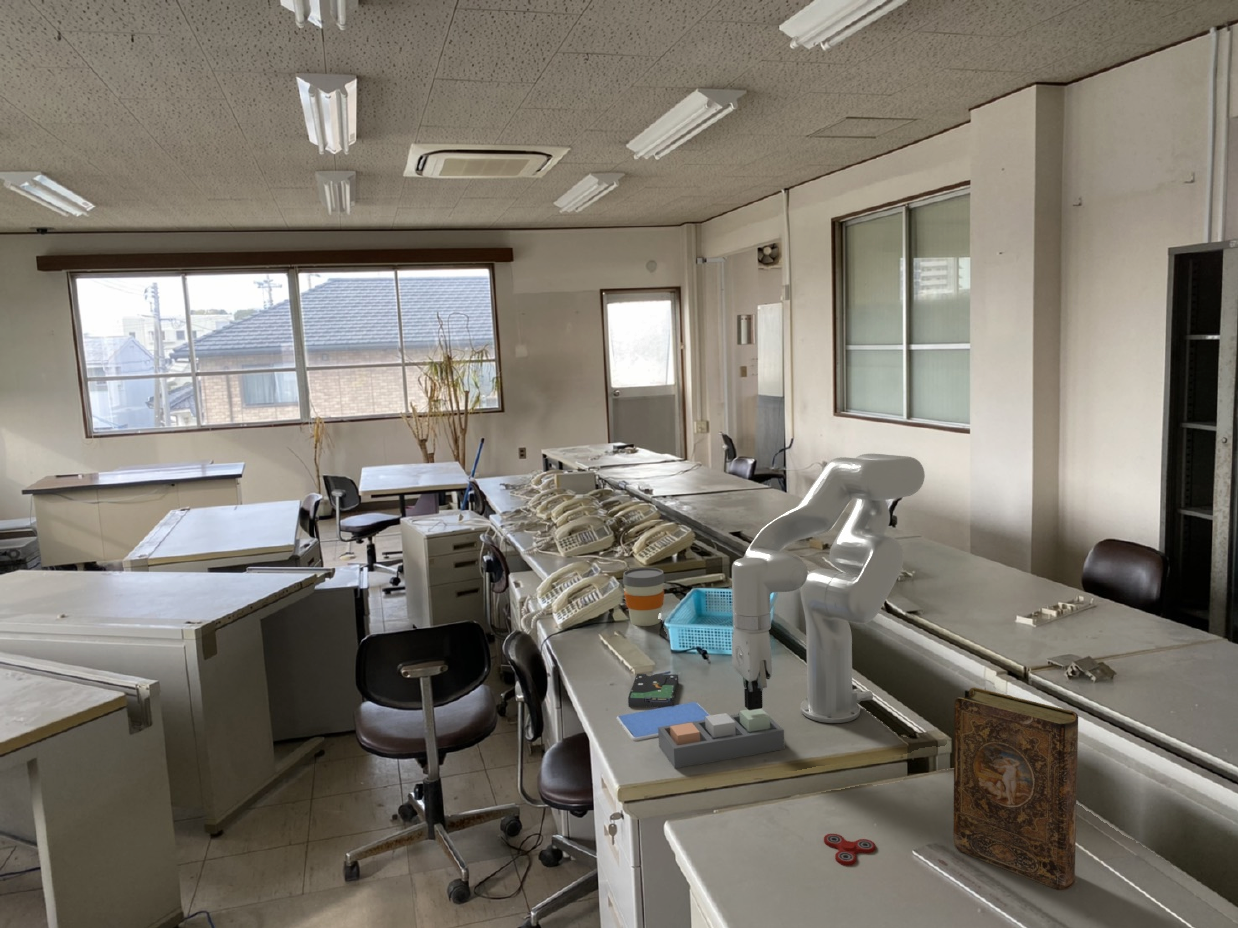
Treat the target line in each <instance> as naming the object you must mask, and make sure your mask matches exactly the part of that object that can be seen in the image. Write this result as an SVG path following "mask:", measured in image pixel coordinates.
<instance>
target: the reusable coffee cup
mask: <svg viewBox="0 0 1238 928" xmlns="http://www.w3.org/2000/svg"><path fill="white" fill-rule="evenodd" d="M665 582H666V581H665V575H664V570H663V569H660V568H658V567H657V568H656V567H637V568H635V567H634V568H631V569H628V570H625V571H624V572H623V576H622V584H623V586H624V593H623V594H624V599H625V603H626V608H627V609H628V614H629V619H630V620H629V621H630V623H631V625H634V626H638V627H639V626H640V627H648V626H655V625H657V624H659V623H660V622H661V619H658V614H659V613H661V614H662V607H663V605H664V597H665V589H664V583H665Z"/></svg>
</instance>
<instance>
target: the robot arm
mask: <svg viewBox="0 0 1238 928" xmlns="http://www.w3.org/2000/svg"><path fill="white" fill-rule="evenodd" d="M925 477H926V476H925V469H924V465H922V463H921V462H920V461H919V460H918V458H917V459H916V458H914V457H912V456H907V455H894V454H882V453H864V454H859V455H857V456H856V457H845V456H844V457H842V456H841V457H836V458H833V459H831V460H830V461H828V462H827V464H826V465H824V467H823V469H822V470H821V472H820V473H819V475H818V476H817V477H816V479H815V480H814V481H813V484H812V485H811V486H810V488H809V489H808V491H807V492H806V493H805V495H804V496H803V498H802V499H801V500H800V502H799V503H798V504H797V505H796V506H795V507H794V508H792V509H790V510H788V511H787V512H784V514H782V515H780V516H778V517H777V518H775V519H774V520H772V521H771V522H769V523H768V524H767V525H765V526H764V527H763V528H762V529H761V530H760V531H759V532H758V533H757V535H756V536H755V537H754V539H753V540H752V542H751V543H750V545H749V546H748V547H747V549H746V551H745V553H744V555H743V557H741V558H738V559H735V561H734V560H733V563H732V564H731V594H732V595H731V597H732V640H731V666H732V669H734V671H735V672H736V673H738V674H739V675H740V676H741V677H742V683H743V689H744V690H743V691H744V707H745V708H746V710H755V709H763V706H764V705H763V691H764V689H766V688H768V684H767V682H768V681H767V680H770V679H771V678H772V676H773V675H772V674H773V672H772V671H773V663H772V662H773V659H772V658H773V657H772V648H771V647H772V646H771V637H770V631H769V630H771V627H772V612H771V594H772V593H773V594H775V593H776V594H777V593H791V592H794V591H797V590H799V589H800V599H801V604H802V609H803V612H804V618H805V630H806V631H805V633H806V635H805V636H806V638H805V639H806V684H807V685H806V686H807V687H806V688H807V690H806V691H807V692H806V693H807V698H805V699H804V700H802V702H801V703H800V711H801V712H800V713H801V714H802V715H804V716H805V717H806V718H808V719H810V720H813V721H815V722H819V723H826V724H843V723H847V722H851V721H854V720H855V719H857V718H858V717H859V716H860V714H861V707H860V705H859V704H860V703H861V701H871V700H873V699H874V694H873V691H871V690H866V691H865V690H864V691H862V690H861V688H854V689H853V652H852V651H853V650H852V649H853V648H852V647H853V646H852V644H853V639H852V637H853V636H852V631H851V626H850V623H855V624H860V625H861V624H867V623H870V622H871V621H873V620H874V619H875V618H876V616H877V615H878V614H879V612H880V611H881V609H882V608H883V606H884V604H885V602H886V600H887V599H888V596H889V595H890V593H891V591H892V589H893V587H894V585H895V584H896V582H897V581H898V578H899V576H900V574H901V572H902V569H903V567H904V559H905V554H904V553H905V552H904V549H903V546H902V543H900V541H899V540H897V539H896V538H895V537H893V536H890V535H888V534H886V531H887V530H888V527H889V526H890V523H891V513H890V509H889V506H888V504H887V501H888V500H894V499H900V498H907V497H910V496H913V495H914V494H916V493H917V492H918V491H920V489H921V488H922V487H923V484H924V482H925ZM851 501H853V505H852V508H851V511H850V512H849V515H848V517H847V518H846V520H845V522H844V524H843V526H842V527H841V528H840V531H839V532H838V533H837V535H836V538H835V539H834V541H833V543H832V545H831V546H830V550H829V555H828V557H829V561H830V563H831V564H832V565H833V566H834V567H835V568H836V569H838V570H835V569H828V568H816V569H813V570H810V571H809V572H808V566H807V564H806V563H805V561H804V560H803V559H802V558H801V557H799V556H796V555H794V554H791V553H785V552H782V551H783V550H784V549H785V548H786V547H788V546H790V545H791V544H793V543H795V542H798V541H800V540H804V539H808V538H812V537H816V536H820V535H823V534H825V533H828V532H830V531H831V530H833V528H834V527H835V525H836V524H837V522H838V521H839V519H840V518H841V516H842V514H843V513H844V512H845V510H846V509H847V507H848V505H849V504H850V503H851ZM839 570H840V571H839ZM846 572H847V573H846ZM849 573H850V574H849ZM849 622H850V623H849Z"/></svg>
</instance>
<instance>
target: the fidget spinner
mask: <svg viewBox="0 0 1238 928" xmlns="http://www.w3.org/2000/svg"><path fill="white" fill-rule="evenodd" d="M823 843H824V844H825V845H826V846H827V847H830V848H834V849H836V850H837V852H836V853H835V862H837V863H838V864H839V865H843V866H848V867H849V866H853V865H855V864H857V854H873V853H874V852H875V851H876V850H877V848H876V847H877V846H876V843H875V842H874V841H872V840H870V839H865V838H860V839H857V840H854V841H850V840H847V839H846V838H844V837H843V836H842V835H840V834H837V833H827V834H826V835H824V837H823Z"/></svg>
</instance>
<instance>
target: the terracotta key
mask: <svg viewBox="0 0 1238 928" xmlns="http://www.w3.org/2000/svg"><path fill="white" fill-rule="evenodd" d="M670 736H671V738H672V739H673V741H674V742H675V743H676V745H677V746H678V745H684V744H690V743H695V742H700V732H699V731H698V729H697V728H696V727H695V726H694V725H693V723H686V724H680V725H674V726H670Z"/></svg>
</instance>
